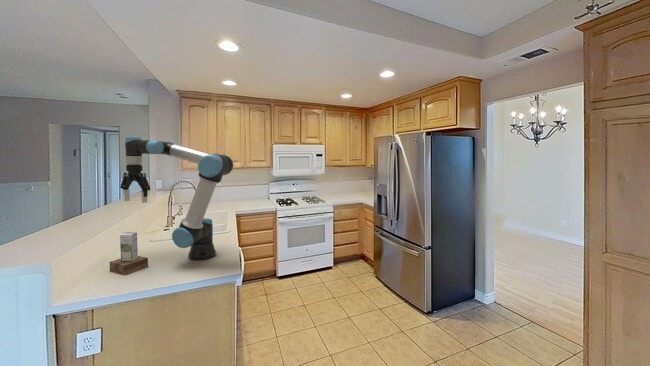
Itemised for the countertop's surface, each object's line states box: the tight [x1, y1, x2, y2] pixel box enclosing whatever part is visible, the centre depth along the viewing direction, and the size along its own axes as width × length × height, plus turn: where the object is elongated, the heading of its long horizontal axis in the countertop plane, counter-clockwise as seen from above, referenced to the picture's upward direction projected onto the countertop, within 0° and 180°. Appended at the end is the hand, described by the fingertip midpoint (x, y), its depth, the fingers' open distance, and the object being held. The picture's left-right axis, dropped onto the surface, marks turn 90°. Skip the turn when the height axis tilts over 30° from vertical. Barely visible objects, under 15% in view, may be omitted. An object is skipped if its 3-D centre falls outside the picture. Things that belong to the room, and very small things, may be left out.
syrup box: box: [119, 231, 139, 262], centre depth 145 cm, size 6×6×14 cm
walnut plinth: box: [108, 255, 149, 276], centre depth 146 cm, size 12×12×5 cm
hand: (135, 201), depth 157 cm, fingers open, 13 cm apart
